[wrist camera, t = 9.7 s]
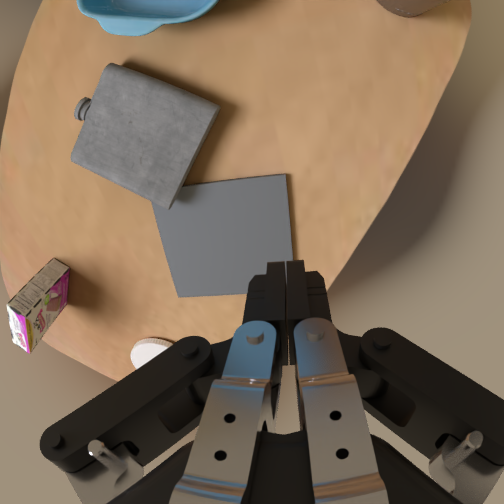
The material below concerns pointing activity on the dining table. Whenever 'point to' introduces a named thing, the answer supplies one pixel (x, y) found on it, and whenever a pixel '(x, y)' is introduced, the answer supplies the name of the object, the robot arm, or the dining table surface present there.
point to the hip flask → (142, 133)
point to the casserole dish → (142, 13)
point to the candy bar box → (38, 304)
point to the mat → (225, 233)
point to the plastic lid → (147, 350)
